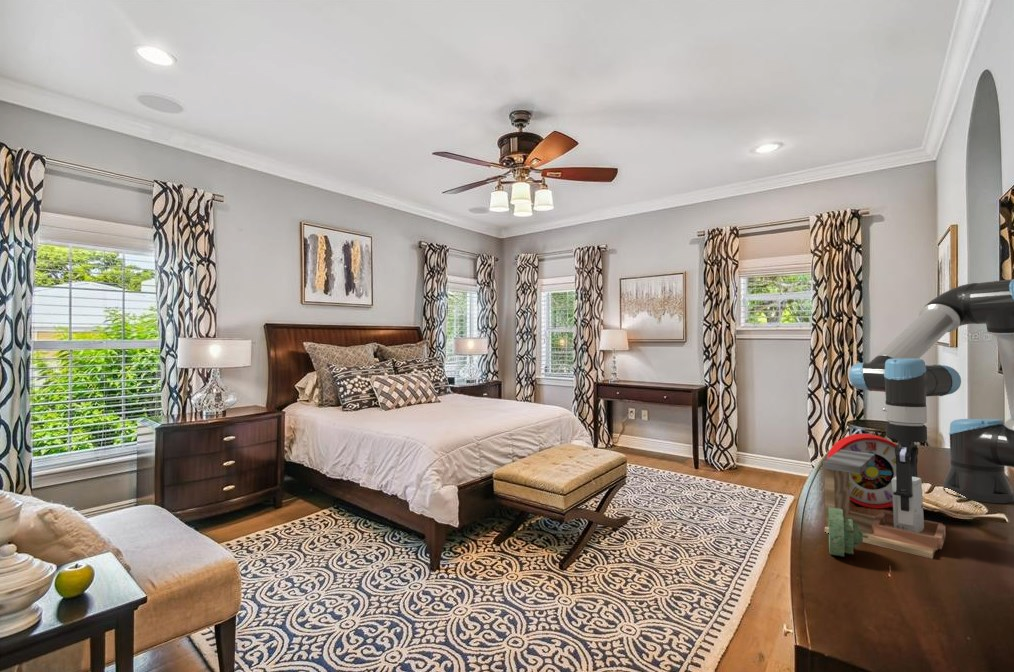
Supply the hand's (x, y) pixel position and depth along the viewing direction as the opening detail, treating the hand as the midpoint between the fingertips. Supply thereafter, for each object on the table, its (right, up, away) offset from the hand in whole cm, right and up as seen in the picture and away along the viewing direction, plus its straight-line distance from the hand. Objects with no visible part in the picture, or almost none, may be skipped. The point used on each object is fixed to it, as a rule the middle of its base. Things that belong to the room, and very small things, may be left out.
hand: (908, 519), depth 113 cm
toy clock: (+9, -5, +24) cm, 26 cm away
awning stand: (-3, -5, +3) cm, 6 cm away
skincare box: (0, -2, 0) cm, 2 cm away
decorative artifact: (-20, -5, -8) cm, 22 cm away
